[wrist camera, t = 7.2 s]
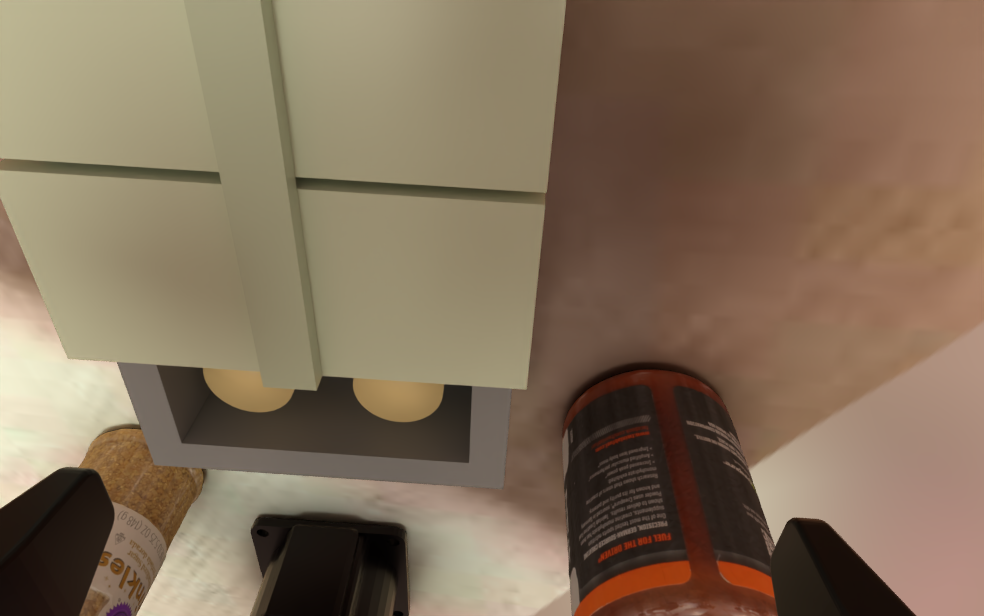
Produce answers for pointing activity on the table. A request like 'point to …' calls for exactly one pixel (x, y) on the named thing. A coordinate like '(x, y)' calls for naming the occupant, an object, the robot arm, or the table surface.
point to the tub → (322, 426)
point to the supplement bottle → (661, 503)
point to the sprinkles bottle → (135, 519)
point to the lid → (284, 181)
